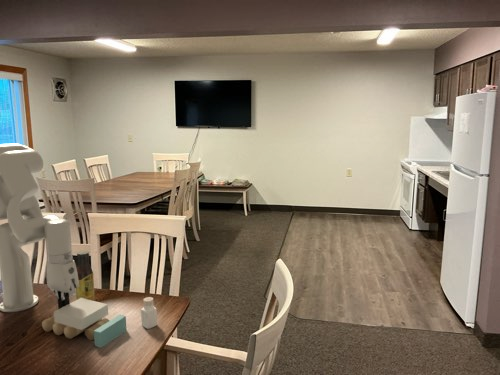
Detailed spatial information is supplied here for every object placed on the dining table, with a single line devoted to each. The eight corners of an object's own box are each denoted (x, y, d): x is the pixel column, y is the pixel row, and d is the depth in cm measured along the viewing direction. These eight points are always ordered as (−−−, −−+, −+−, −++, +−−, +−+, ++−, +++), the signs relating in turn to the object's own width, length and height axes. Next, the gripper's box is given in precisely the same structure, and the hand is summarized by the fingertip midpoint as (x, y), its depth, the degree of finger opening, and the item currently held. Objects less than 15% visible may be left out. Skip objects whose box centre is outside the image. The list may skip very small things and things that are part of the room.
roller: (95, 341, 123) (94, 330, 122) (85, 338, 124) (85, 327, 124) (111, 330, 129) (110, 320, 128) (102, 327, 131) (101, 317, 130)
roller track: (42, 330, 129) (41, 319, 128) (72, 314, 140) (71, 303, 139) (92, 346, 120) (91, 334, 119) (120, 327, 131) (119, 316, 130)
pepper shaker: (147, 330, 129) (146, 303, 127) (141, 325, 132) (139, 299, 130) (158, 325, 132) (156, 298, 130) (151, 321, 135) (150, 295, 133)
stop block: (95, 345, 120) (93, 330, 119) (120, 328, 130) (119, 314, 129) (101, 347, 119) (100, 332, 118) (126, 330, 129) (125, 316, 128)
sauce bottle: (88, 308, 144) (84, 256, 140) (73, 306, 145) (68, 255, 142) (98, 300, 150) (95, 250, 147) (84, 299, 151) (80, 249, 148)
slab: (54, 321, 126) (53, 311, 126) (81, 307, 136) (81, 297, 136) (81, 330, 122) (81, 319, 121) (108, 314, 131) (107, 304, 131)
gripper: (85, 256, 129) (89, 308, 132) (53, 250, 135) (58, 300, 138) (66, 264, 122) (71, 318, 125) (33, 257, 128) (38, 309, 132)
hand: (64, 308), depth 132 cm, fingers closed
